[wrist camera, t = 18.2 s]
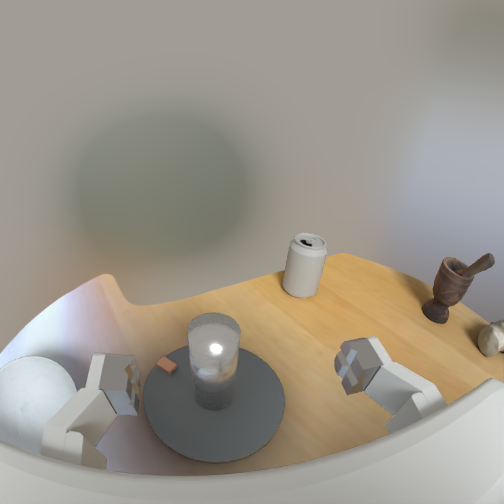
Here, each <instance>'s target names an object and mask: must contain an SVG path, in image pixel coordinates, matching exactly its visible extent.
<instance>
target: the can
mask: <svg viewBox="0 0 504 504" xmlns="http://www.w3.org/2000/svg"><path fill="white" fill-rule="evenodd" d="M327 252H328V250H327V248H326V242H325V240H324V239H323V238H321V237H320V236H317V235H315V234H311V233H299V234H297V235H296V236H295V238H294V239H293V240H292V241H291V243H290V246H289V252H288V257H287V262H286V268H285V273H284V278H283V283H282V285H283V288H284V289H285V291H287V293H288V294H290V295H291V296H293V297H296V298H308V297H310V296H313V295H314V294H315V293H316V292H317V289H318V286H319V282H320V278H321V275H322V271H323V268H324V264H325V260H326V256H327Z"/></svg>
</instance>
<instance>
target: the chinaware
mask: <svg viewBox="0 0 504 504" xmlns="http://www.w3.org/2000/svg"><path fill="white" fill-rule="evenodd" d="M77 392H78V390H77V388H76V385H75V383H74V381H73V379H72V377H71V376H70V374H69V373H68V372H67V371H66V370H65V369H64V368H63V367H62V366H61V365H60V364H58V363H57V362H55V361H53V360H51V359H48V358H45V357H40V356H26V357H21V358H18V359H15V360H13V361H11V362H9V363H8V364H6V365H5V366H3V367H2V368H1V369H0V440H2V441H4V442H6V443H9V444H11V445H14V446H17V447H19V448H22V449H25V450H28V451H30V452H33V453H36V454H40V452H41V446H42V440H43V434H44V429H45V424H46V423H47V422H48V421H49V420H50V419H51V418H52V417H53V416H54V415H55V414H56V413H57V412H58V411H59V410H60V409H61V408H62V407H63V406H64V405H65V404H66V403H67V402H68V401H69V400H70V399H71V398H72V397H73V396H74V395H75V394H76V393H77Z"/></svg>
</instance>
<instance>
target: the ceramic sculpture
mask: <svg viewBox="0 0 504 504" xmlns="http://www.w3.org/2000/svg"><path fill="white" fill-rule="evenodd" d="M478 346H479V349H480V351H481V352H482V353H483V354H484V355H485V356H487V357H490V356H493V355H495V354H496V353H498V352H499V351H502V352H504V320H500V321H498V322H494V323H493V322H492V323H491V324H490V326H486V327H484V328H482V329H481V331H480V333H479V336H478Z"/></svg>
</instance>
